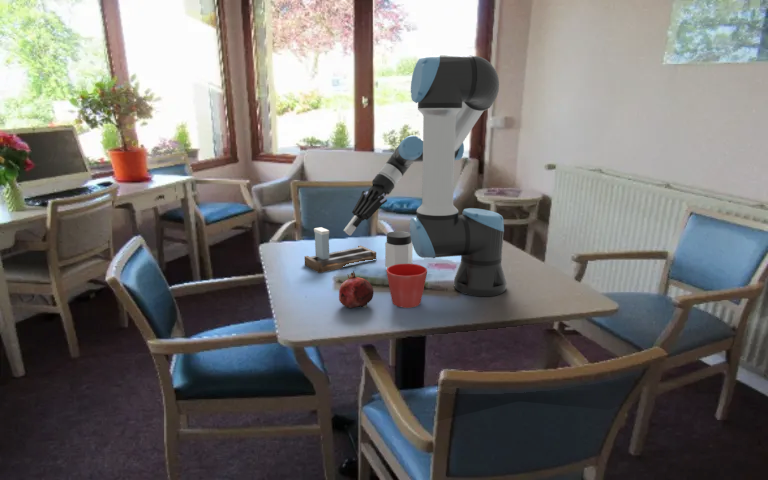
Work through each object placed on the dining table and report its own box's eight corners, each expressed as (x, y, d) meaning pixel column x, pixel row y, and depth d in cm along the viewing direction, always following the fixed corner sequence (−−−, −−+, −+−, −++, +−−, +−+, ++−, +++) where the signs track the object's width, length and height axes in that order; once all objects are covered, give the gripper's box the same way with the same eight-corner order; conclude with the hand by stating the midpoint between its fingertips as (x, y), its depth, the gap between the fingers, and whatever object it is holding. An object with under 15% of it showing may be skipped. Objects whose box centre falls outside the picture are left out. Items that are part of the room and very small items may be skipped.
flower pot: (389, 294, 142) (389, 262, 140) (427, 296, 141) (428, 263, 138) (383, 309, 132) (383, 274, 129) (425, 311, 131) (425, 276, 128)
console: (360, 253, 180) (360, 245, 179) (376, 260, 172) (376, 252, 171) (304, 264, 167) (304, 256, 167) (318, 273, 160) (318, 264, 159)
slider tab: (322, 258, 168) (321, 227, 165) (330, 262, 164) (329, 230, 161) (315, 260, 167) (313, 228, 164) (322, 264, 162) (321, 231, 159)
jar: (417, 270, 162) (417, 234, 159) (398, 275, 157) (398, 239, 154) (399, 263, 169) (399, 229, 166) (380, 268, 164) (380, 233, 161)
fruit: (378, 310, 131) (378, 275, 129) (343, 315, 128) (343, 279, 125) (367, 298, 140) (367, 264, 137) (334, 302, 136) (333, 268, 134)
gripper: (403, 189, 171) (364, 243, 166) (382, 184, 181) (343, 235, 176) (391, 174, 166) (350, 230, 161) (369, 171, 177) (330, 222, 172)
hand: (346, 232), depth 169 cm, fingers closed
